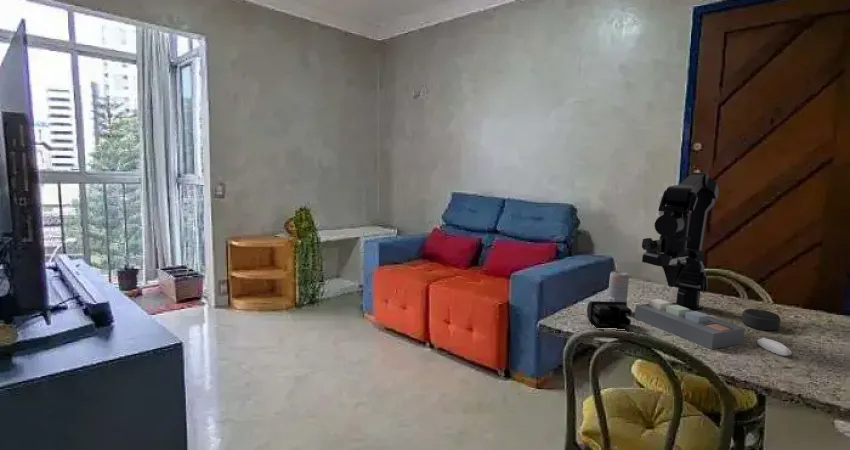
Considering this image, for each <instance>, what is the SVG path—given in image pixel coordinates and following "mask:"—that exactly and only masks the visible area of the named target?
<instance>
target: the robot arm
mask: <svg viewBox="0 0 850 450" xmlns="http://www.w3.org/2000/svg"><path fill="white" fill-rule="evenodd" d="M719 190H720V189H719V186H718V182H716V181H715V180H714V179H712V178H711V177H710V176H709V174H708V173H706V172H693V171H692V172H688V174H687V177H686V178H685V179H684V180H683V181H681V182H680V184H673V185H670V186H668V187H667V188H666V189H665V190H664V192H663V195H662V198H661V201H660V204H659V207H658V212H663V215H660V216H658V217H657V218H656V220H655V222H654V229H655V232H656V234H659V239H655V240H653V239H652V237H647V238H643V239H642V241H641V248H642V250H644V251H645V252H644V253H643V254H642V256H641V262H642V263H645V264H649V265H653V266H656V267H661V268H662V269H663V272H664V275H665V279H666V283H667V285H668V287H671V288H672V287H677V293H676V302H672V304H675V305H679V306H682V307H685V308H688V309H690V310H693V311H695V310H701V309H704V306H703V305H700V301H701V300H700V298H701V292H708V277H707V275H706V274H707V273H706V272H705V265H704V261H705V256H706V255H705V253H704V251H703V242H704V236H705V229H706V224H707V223H706V222H707V218H708V217H707V216H708V212H709V211H711V209H712V208H713V207H714V206H715V205H716V200H718V197H719V192H720V191H719Z"/></svg>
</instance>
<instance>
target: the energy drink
mask: <svg viewBox="0 0 850 450" xmlns="http://www.w3.org/2000/svg"><path fill="white" fill-rule="evenodd" d="M629 279H630V276H629V273H628V272H625V271H620V270H613V271H610V274H609V283H608V296H607V302H627V303H628V292H629Z"/></svg>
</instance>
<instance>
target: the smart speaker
mask: <svg viewBox="0 0 850 450" xmlns="http://www.w3.org/2000/svg"><path fill="white" fill-rule="evenodd" d="M741 322H742V323H743V324H744V325H745V326H747V327H750V328H752V329H755V330H761V331H766V330H767V332H769V331H772V332H773V330H774V331H777V330H779V328H780V326H781V317H780V315H778V314H777V313H774V312H772V311H768V310H765V309H755V308H748V309H744V310H743V311H742V316H741Z"/></svg>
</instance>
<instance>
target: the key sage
mask: <svg viewBox="0 0 850 450" xmlns="http://www.w3.org/2000/svg"><path fill="white" fill-rule="evenodd" d="M666 312H668V313H671V314H674V315H676V316H685V313H686V312H689V309H688V308H685V307H682V306H679V305H671V306H667V307H666Z"/></svg>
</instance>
